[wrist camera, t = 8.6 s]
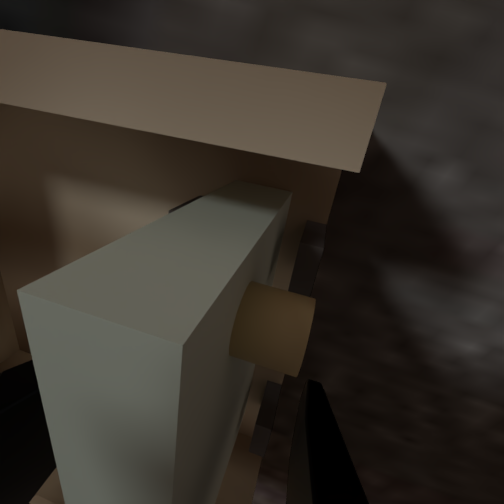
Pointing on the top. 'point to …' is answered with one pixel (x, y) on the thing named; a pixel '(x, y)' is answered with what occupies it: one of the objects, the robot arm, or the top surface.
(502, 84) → the top surface
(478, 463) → the top surface
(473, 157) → the top surface
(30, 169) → the beige shallow square box
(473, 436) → the top surface
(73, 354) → the door
